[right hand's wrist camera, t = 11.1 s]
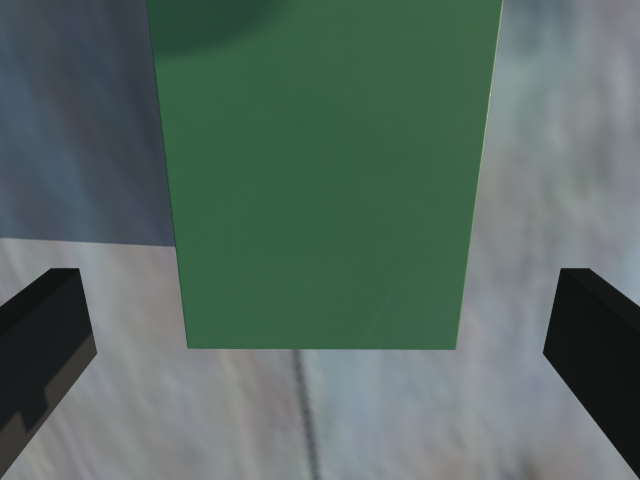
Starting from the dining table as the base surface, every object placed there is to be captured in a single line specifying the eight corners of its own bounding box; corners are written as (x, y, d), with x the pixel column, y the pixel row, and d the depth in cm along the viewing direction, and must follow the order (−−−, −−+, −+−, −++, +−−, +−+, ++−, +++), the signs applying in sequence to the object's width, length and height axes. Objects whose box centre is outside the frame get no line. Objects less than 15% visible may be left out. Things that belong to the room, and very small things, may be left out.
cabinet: (214, -27, 23) (134, -94, 13) (432, -25, 23) (516, -92, 13) (233, 250, 28) (187, 349, 19) (409, 251, 29) (456, 350, 19)
